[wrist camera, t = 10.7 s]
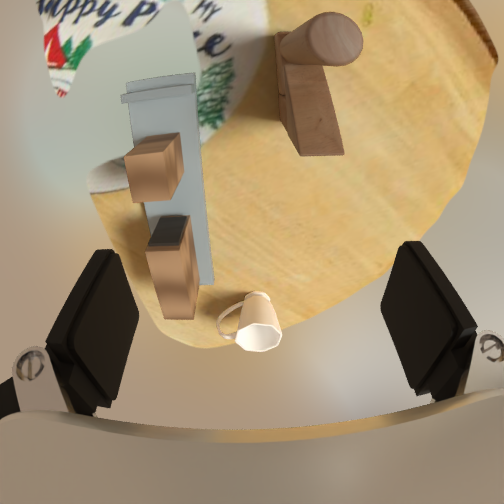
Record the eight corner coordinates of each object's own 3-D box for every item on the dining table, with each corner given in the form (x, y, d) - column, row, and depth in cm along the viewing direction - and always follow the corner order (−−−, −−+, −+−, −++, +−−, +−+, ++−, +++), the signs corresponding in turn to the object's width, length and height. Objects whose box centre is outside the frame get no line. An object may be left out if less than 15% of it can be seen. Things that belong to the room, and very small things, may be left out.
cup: (280, 311, 51) (285, 348, 45) (224, 319, 52) (222, 357, 46) (274, 280, 47) (279, 319, 41) (212, 291, 48) (208, 329, 42)
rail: (129, 81, 29) (119, 84, 27) (195, 72, 29) (190, 73, 27) (164, 280, 47) (160, 294, 44) (214, 279, 47) (212, 293, 44)
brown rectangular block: (147, 136, 32) (123, 156, 26) (180, 132, 32) (162, 151, 26) (153, 177, 36) (133, 206, 29) (184, 174, 36) (170, 203, 29)
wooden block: (279, 121, 33) (309, 176, 18) (273, 34, 27) (301, 6, 12) (310, 120, 33) (363, 174, 18) (306, 34, 27) (363, 11, 12)
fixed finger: (160, 214, 39) (144, 248, 32) (189, 212, 39) (178, 247, 32) (174, 280, 45) (164, 319, 39) (200, 279, 45) (193, 319, 39)
